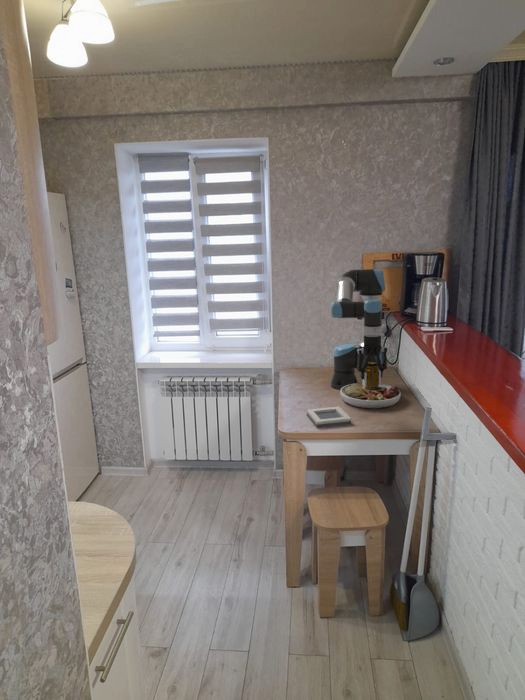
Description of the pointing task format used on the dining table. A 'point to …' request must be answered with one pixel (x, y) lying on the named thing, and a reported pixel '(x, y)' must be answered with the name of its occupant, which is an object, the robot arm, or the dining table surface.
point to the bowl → (370, 396)
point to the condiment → (372, 377)
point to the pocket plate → (328, 417)
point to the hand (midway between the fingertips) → (371, 385)
